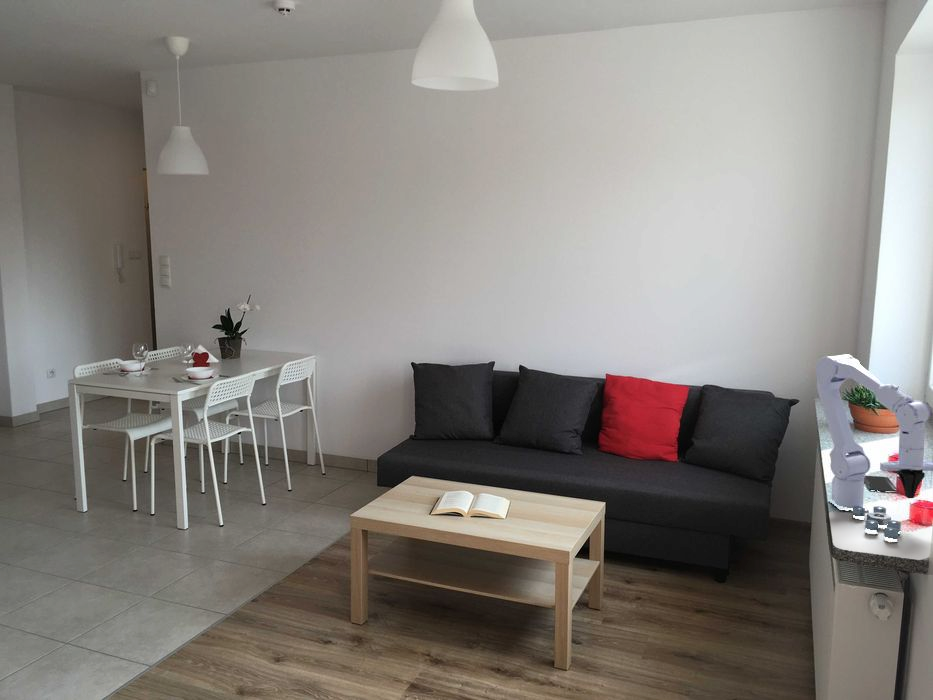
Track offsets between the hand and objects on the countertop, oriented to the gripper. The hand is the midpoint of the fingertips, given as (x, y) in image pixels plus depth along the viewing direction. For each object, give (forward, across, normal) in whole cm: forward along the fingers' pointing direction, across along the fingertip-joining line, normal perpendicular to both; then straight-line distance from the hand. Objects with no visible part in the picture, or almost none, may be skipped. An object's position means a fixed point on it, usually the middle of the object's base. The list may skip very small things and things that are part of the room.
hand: (909, 497), depth 202 cm
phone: (+8, +8, +37) cm, 39 cm away
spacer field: (+8, -8, -3) cm, 12 cm away
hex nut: (+8, -8, 0) cm, 11 cm away
